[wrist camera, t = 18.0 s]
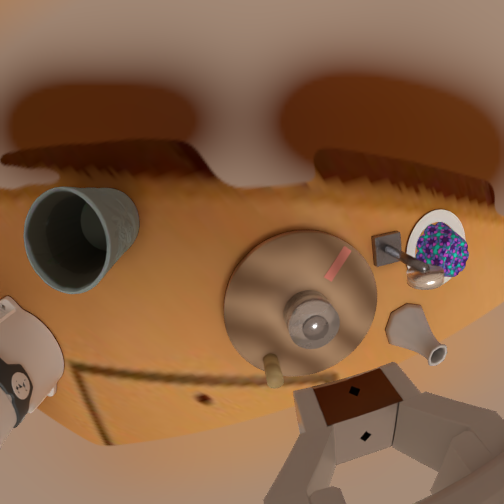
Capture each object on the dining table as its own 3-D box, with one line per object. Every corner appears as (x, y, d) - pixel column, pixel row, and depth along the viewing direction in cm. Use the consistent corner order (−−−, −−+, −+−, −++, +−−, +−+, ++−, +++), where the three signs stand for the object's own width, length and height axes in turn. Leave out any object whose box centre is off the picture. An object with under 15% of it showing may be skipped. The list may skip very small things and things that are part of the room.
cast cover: (311, 339, 40) (320, 358, 35) (273, 320, 38) (279, 338, 34) (338, 303, 39) (351, 318, 34) (301, 281, 37) (310, 295, 33)
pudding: (419, 197, 39) (441, 201, 34) (471, 223, 41) (492, 230, 36) (392, 276, 42) (410, 289, 37) (446, 293, 43) (465, 305, 38)
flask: (420, 337, 45) (453, 369, 35) (383, 348, 44) (412, 384, 35) (424, 298, 43) (462, 325, 33) (385, 307, 43) (419, 340, 33)
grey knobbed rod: (372, 265, 41) (420, 298, 29) (370, 236, 40) (420, 262, 28) (399, 258, 41) (451, 287, 29) (397, 230, 40) (451, 252, 28)
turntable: (316, 385, 44) (328, 415, 37) (196, 331, 40) (191, 360, 33) (396, 277, 41) (422, 295, 34) (278, 198, 37) (290, 204, 30)
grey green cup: (147, 259, 38) (116, 295, 26) (77, 261, 37) (31, 293, 26) (142, 178, 36) (105, 181, 24) (70, 185, 35) (17, 192, 23)
